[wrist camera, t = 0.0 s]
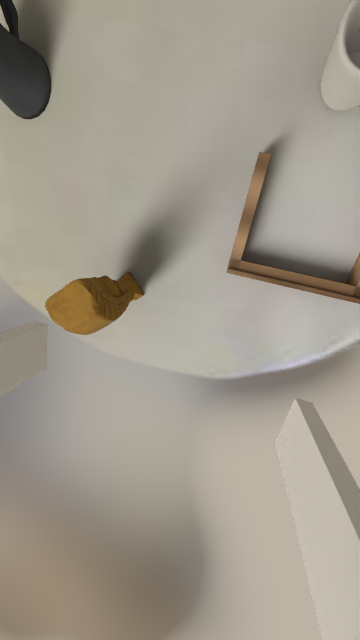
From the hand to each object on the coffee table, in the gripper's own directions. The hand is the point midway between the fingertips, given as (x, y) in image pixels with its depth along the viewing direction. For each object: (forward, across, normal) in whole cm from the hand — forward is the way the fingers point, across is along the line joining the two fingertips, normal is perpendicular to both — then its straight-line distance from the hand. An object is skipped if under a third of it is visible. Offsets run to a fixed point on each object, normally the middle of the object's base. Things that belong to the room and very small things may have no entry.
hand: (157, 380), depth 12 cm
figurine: (+29, -14, -4) cm, 33 cm away
